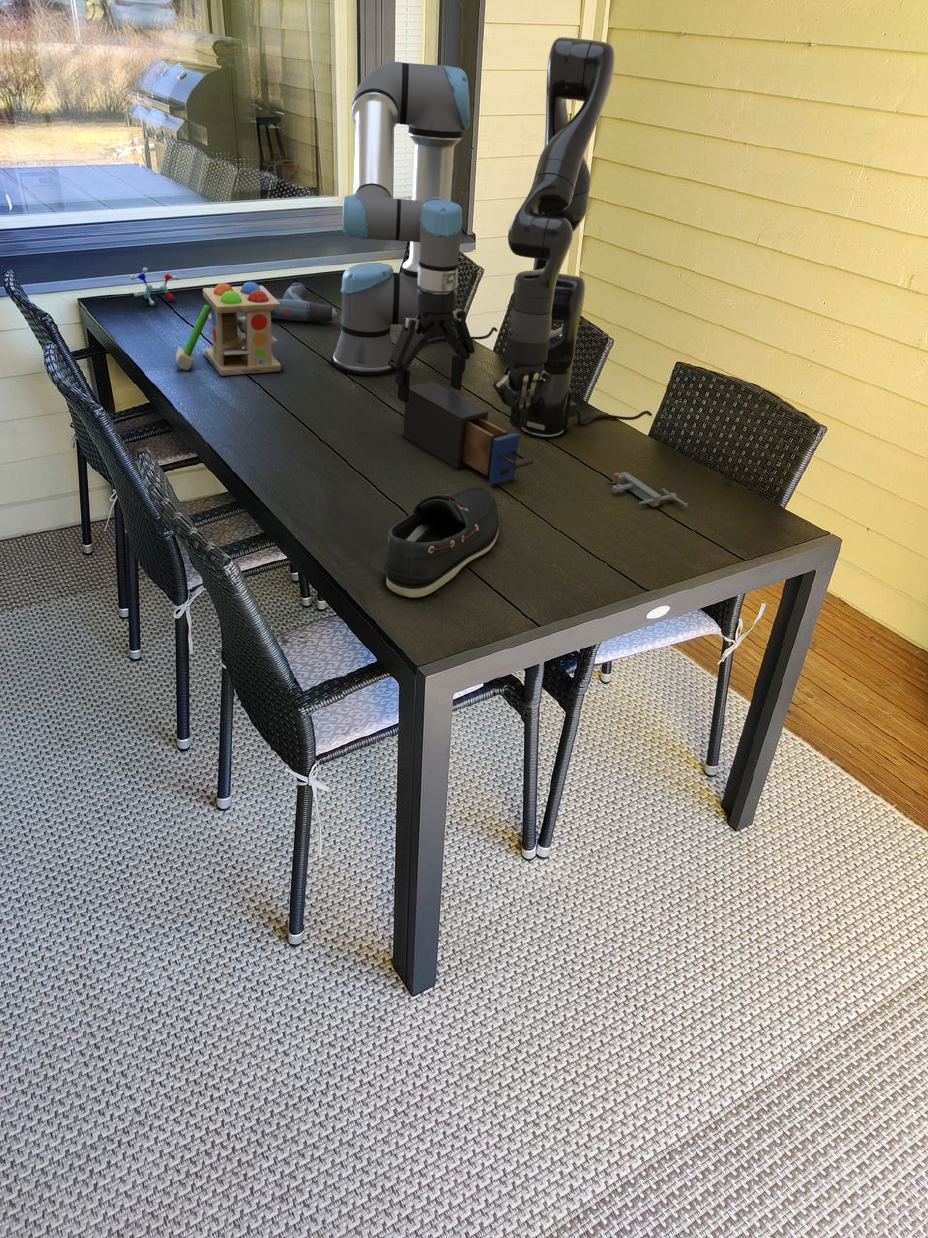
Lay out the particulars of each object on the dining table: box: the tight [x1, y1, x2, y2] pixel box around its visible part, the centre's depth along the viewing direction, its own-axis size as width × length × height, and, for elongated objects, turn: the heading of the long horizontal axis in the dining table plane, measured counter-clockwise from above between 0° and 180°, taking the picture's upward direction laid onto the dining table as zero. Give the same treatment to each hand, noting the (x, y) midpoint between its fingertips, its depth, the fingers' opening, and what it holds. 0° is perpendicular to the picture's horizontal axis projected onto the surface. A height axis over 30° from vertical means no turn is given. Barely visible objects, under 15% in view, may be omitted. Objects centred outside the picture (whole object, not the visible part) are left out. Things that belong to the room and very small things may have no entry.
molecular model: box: [129, 267, 180, 307], centre depth 263 cm, size 12×10×10 cm
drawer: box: [461, 417, 534, 485], centre depth 191 cm, size 22×6×9 cm, turn 40°
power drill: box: [271, 282, 338, 322], centre depth 265 cm, size 5×19×20 cm
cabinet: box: [403, 381, 489, 470], centre depth 199 cm, size 18×7×11 cm, turn 40°
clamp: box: [611, 471, 689, 509], centre depth 190 cm, size 15×2×10 cm
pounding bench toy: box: [174, 281, 282, 377], centre depth 225 cm, size 23×14×18 cm, turn 116°
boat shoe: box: [383, 486, 500, 598], centre depth 165 cm, size 13×33×10 cm, turn 147°
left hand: (429, 393), depth 200 cm, fingers open, 13 cm apart
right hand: (517, 425), depth 182 cm, fingers closed
